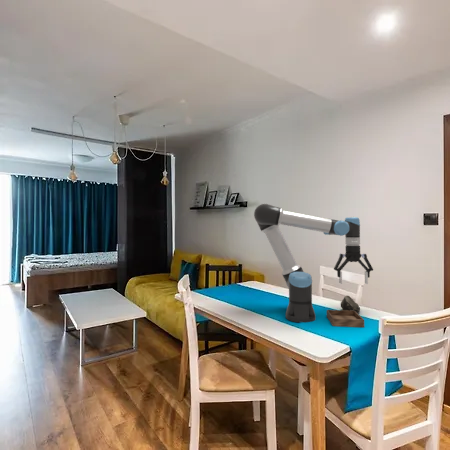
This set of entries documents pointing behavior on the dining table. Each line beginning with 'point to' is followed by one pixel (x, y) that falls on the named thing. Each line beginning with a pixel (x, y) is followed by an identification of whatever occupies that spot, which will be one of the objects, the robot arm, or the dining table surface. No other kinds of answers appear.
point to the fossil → (349, 304)
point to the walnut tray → (345, 318)
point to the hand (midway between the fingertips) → (353, 283)
